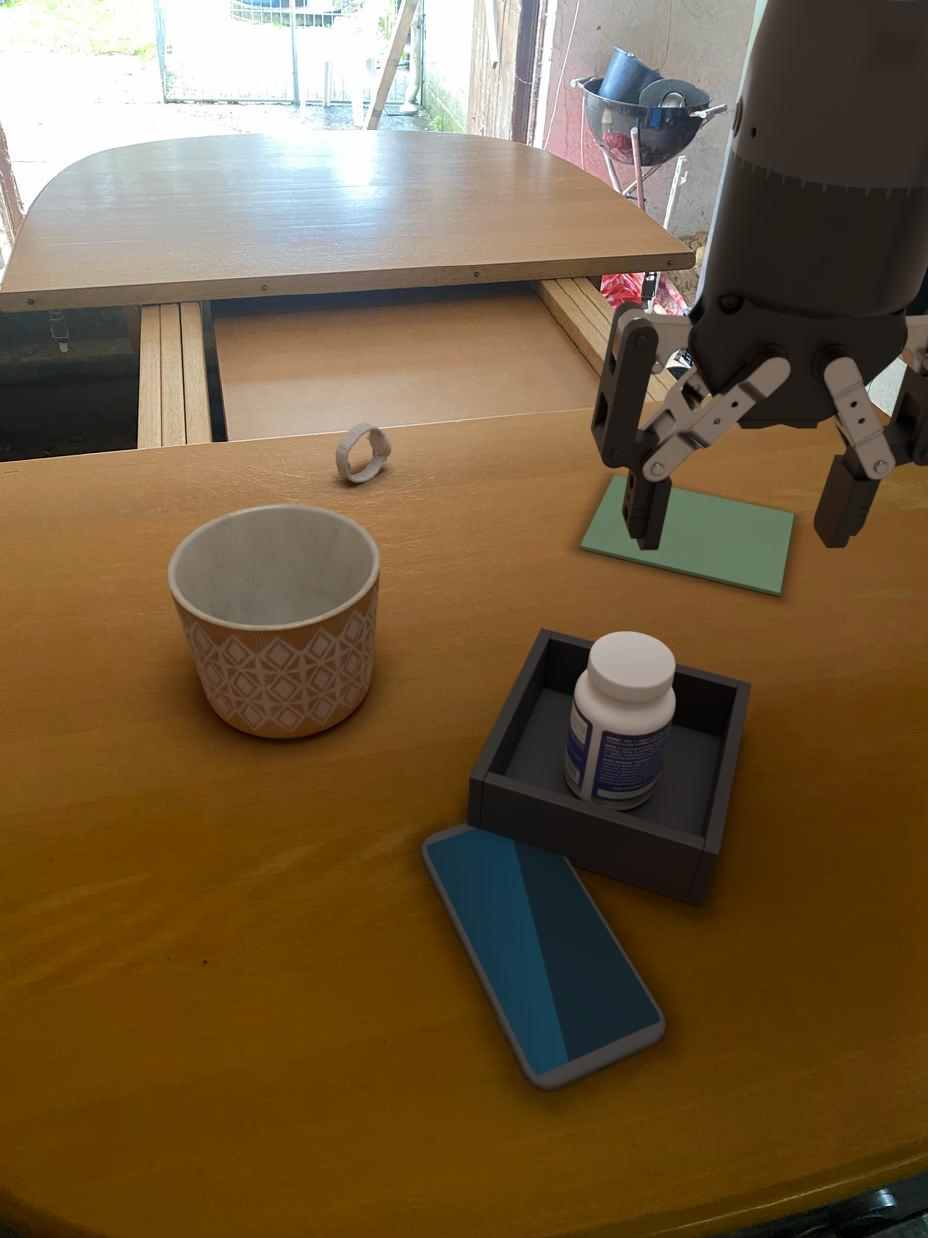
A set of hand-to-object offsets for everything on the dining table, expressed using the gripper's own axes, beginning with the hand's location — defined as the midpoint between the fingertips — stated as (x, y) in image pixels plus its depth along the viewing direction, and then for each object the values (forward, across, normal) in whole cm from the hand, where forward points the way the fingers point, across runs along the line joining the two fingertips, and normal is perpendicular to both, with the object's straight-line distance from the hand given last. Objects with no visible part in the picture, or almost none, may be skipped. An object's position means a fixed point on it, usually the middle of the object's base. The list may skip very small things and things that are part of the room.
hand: (737, 539), depth 41 cm
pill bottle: (+20, -2, +3) cm, 20 cm away
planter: (+20, -22, +12) cm, 33 cm away
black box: (+20, -2, +3) cm, 21 cm away
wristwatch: (+20, -18, +39) cm, 47 cm away
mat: (+20, +10, +29) cm, 37 cm away
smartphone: (+21, -8, -7) cm, 24 cm away
